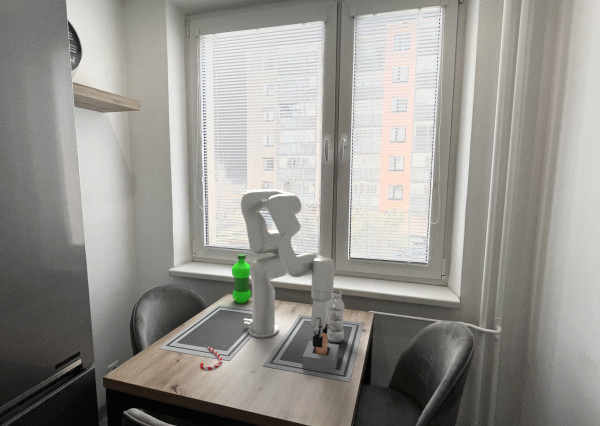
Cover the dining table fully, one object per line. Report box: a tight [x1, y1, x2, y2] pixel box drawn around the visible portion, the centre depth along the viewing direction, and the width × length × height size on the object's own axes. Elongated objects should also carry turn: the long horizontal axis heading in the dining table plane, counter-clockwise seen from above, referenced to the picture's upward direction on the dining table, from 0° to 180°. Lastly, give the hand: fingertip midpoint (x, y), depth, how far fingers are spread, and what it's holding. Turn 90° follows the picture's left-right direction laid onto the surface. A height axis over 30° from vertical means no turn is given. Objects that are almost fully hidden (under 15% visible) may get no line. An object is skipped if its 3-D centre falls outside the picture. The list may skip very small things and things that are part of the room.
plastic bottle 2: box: [327, 290, 345, 344], centre depth 130 cm, size 6×7×20 cm
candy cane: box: [199, 346, 223, 371], centre depth 116 cm, size 8×1×15 cm
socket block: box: [301, 340, 340, 374], centre depth 115 cm, size 11×11×4 cm
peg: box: [316, 333, 328, 355], centre depth 114 cm, size 4×4×10 cm
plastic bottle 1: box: [231, 253, 252, 304], centre depth 170 cm, size 10×10×25 cm
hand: (320, 339), depth 115 cm, fingers open, 9 cm apart
